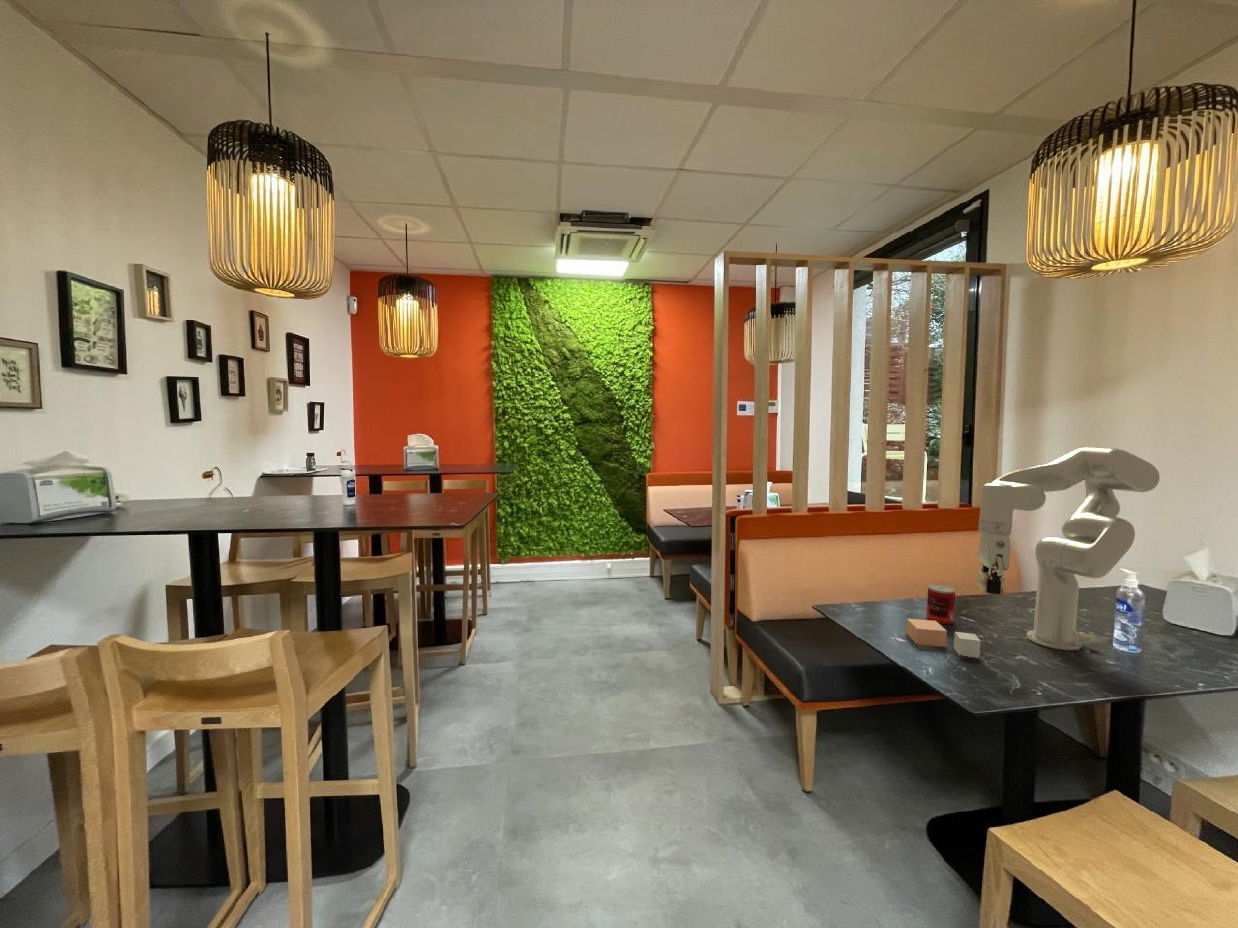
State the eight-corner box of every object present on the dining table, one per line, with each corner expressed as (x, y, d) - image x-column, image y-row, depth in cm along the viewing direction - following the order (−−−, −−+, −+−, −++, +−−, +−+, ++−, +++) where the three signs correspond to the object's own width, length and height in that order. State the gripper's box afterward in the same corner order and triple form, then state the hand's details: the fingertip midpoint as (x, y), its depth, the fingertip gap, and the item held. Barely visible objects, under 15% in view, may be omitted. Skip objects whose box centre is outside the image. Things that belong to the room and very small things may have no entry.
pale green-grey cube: (973, 650, 151) (974, 634, 151) (979, 658, 146) (980, 640, 146) (953, 648, 153) (954, 631, 152) (958, 655, 148) (959, 638, 148)
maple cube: (996, 590, 152) (997, 573, 151) (1003, 595, 147) (1004, 577, 147) (976, 587, 153) (977, 571, 153) (982, 592, 148) (983, 575, 148)
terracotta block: (934, 636, 161) (935, 620, 161) (945, 647, 154) (946, 630, 153) (906, 634, 163) (907, 618, 162) (916, 645, 155) (917, 628, 155)
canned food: (945, 616, 178) (947, 584, 177) (958, 625, 170) (960, 592, 169) (921, 615, 179) (923, 583, 178) (933, 624, 171) (935, 591, 170)
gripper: (1023, 534, 140) (1017, 601, 141) (998, 523, 156) (993, 583, 157) (990, 531, 142) (984, 597, 143) (969, 521, 158) (964, 580, 159)
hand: (989, 589), depth 150 cm, fingers closed on maple cube, 5 cm apart
